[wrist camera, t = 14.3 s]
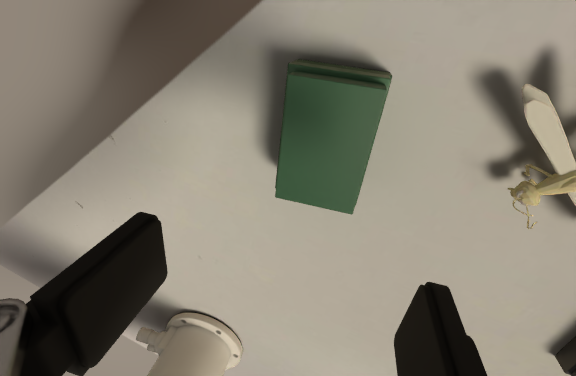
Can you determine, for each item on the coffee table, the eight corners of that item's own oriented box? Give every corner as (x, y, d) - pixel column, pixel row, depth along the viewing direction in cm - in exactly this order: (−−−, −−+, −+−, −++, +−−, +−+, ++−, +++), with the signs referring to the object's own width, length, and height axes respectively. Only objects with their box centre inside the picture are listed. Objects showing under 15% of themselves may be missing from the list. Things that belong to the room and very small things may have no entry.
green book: (281, 185, 23) (275, 197, 22) (294, 70, 19) (287, 74, 17) (353, 201, 22) (352, 214, 21) (385, 84, 18) (387, 89, 16)
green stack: (284, 172, 27) (274, 190, 24) (298, 58, 22) (287, 63, 19) (358, 187, 26) (357, 208, 23) (390, 72, 21) (395, 79, 18)
